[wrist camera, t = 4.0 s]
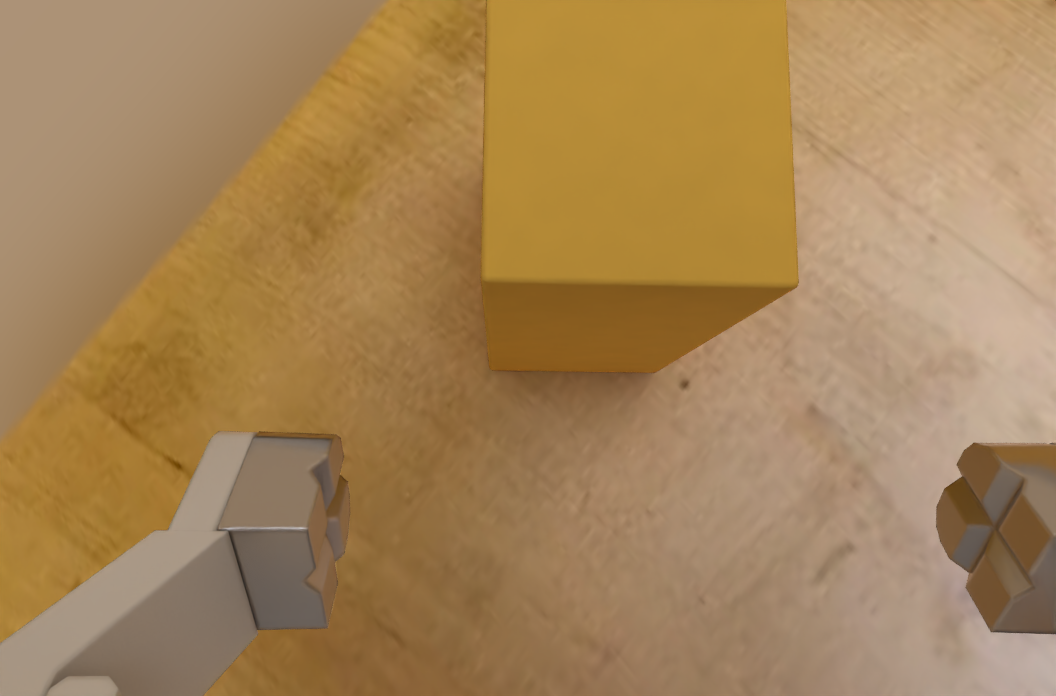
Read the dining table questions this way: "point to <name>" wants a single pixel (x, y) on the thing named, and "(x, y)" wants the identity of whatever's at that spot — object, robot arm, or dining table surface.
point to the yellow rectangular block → (632, 178)
